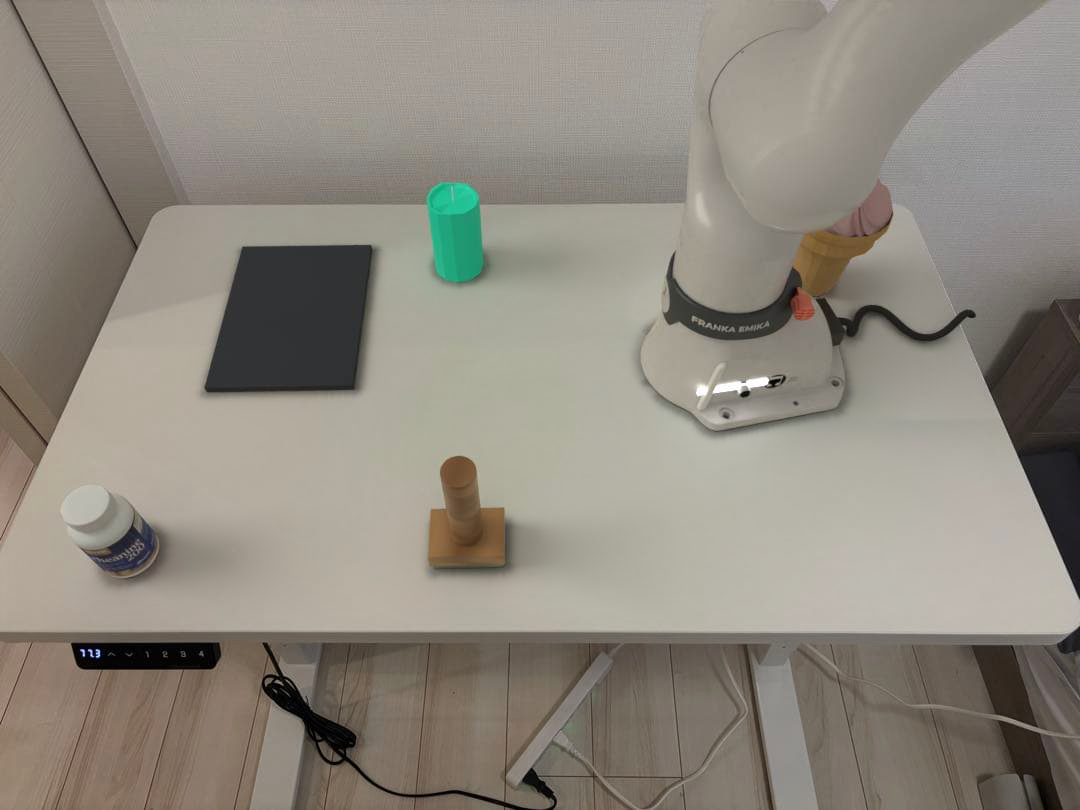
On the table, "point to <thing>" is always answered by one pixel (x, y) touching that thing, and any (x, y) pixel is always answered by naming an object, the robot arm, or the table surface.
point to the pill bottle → (109, 531)
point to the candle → (456, 231)
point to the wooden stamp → (465, 522)
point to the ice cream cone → (842, 242)
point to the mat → (292, 319)
